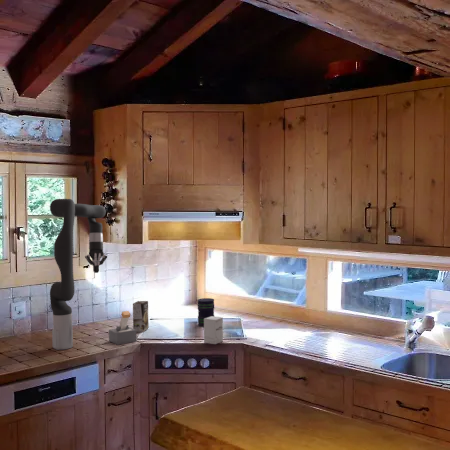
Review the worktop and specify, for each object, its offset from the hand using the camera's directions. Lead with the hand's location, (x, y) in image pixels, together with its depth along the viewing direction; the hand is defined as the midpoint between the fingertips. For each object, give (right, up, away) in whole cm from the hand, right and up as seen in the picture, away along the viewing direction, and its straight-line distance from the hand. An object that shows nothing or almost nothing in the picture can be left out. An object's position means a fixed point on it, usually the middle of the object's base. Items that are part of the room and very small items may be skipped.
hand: (96, 272), depth 307 cm
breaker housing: (+17, -35, -14) cm, 41 cm away
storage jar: (+60, -33, +20) cm, 71 cm away
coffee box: (+23, -34, +10) cm, 42 cm away
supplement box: (+65, -34, -19) cm, 76 cm away
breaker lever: (+17, -28, -15) cm, 36 cm away
